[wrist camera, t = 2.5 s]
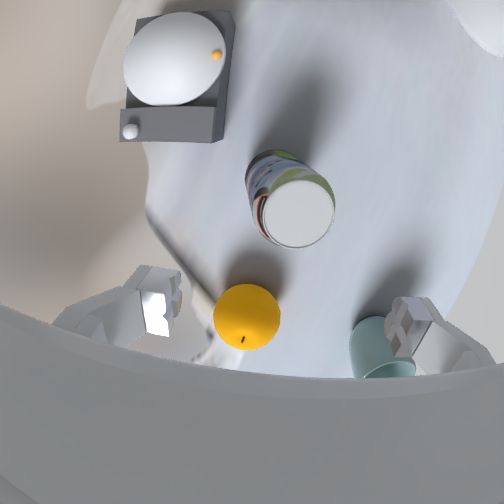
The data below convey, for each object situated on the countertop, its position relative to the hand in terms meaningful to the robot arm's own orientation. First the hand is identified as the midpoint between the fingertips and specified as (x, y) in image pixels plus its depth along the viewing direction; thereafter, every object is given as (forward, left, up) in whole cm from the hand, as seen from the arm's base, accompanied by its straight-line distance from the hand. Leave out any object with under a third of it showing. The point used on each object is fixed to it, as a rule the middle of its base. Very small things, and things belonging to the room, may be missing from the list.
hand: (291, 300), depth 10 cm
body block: (-10, -11, -21) cm, 26 cm away
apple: (+16, -2, -21) cm, 27 cm away
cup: (+19, +16, -21) cm, 33 cm away
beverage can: (0, 0, -21) cm, 21 cm away
